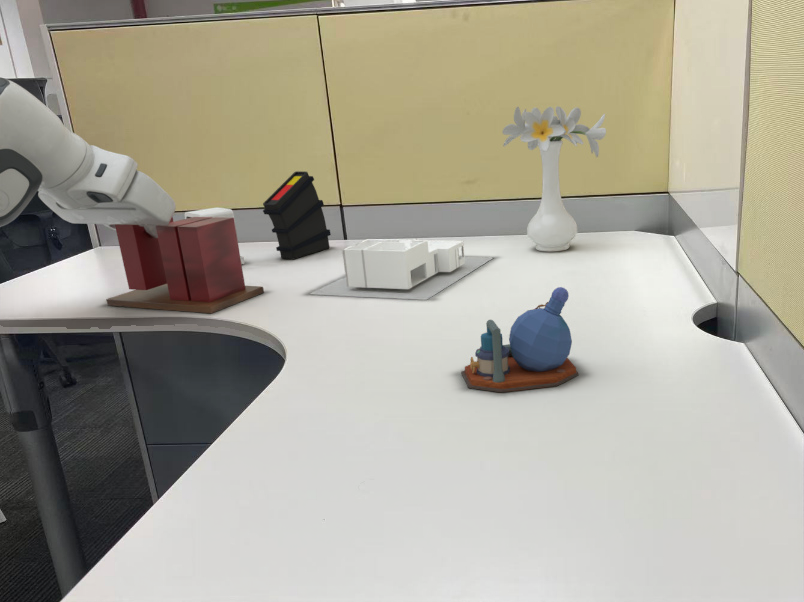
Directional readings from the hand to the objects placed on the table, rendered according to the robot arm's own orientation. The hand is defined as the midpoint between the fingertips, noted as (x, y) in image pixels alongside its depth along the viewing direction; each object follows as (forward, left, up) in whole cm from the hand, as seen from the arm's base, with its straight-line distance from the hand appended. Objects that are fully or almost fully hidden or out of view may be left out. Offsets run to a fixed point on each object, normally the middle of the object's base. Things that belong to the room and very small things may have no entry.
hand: (144, 233), depth 122 cm
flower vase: (+36, -58, -10) cm, 69 cm away
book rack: (-1, -5, -10) cm, 11 cm away
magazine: (+32, -10, -10) cm, 35 cm away
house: (+15, -36, -10) cm, 40 cm away
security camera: (+23, +2, -10) cm, 25 cm away
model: (-31, -62, -10) cm, 71 cm away
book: (0, 0, -8) cm, 8 cm away
